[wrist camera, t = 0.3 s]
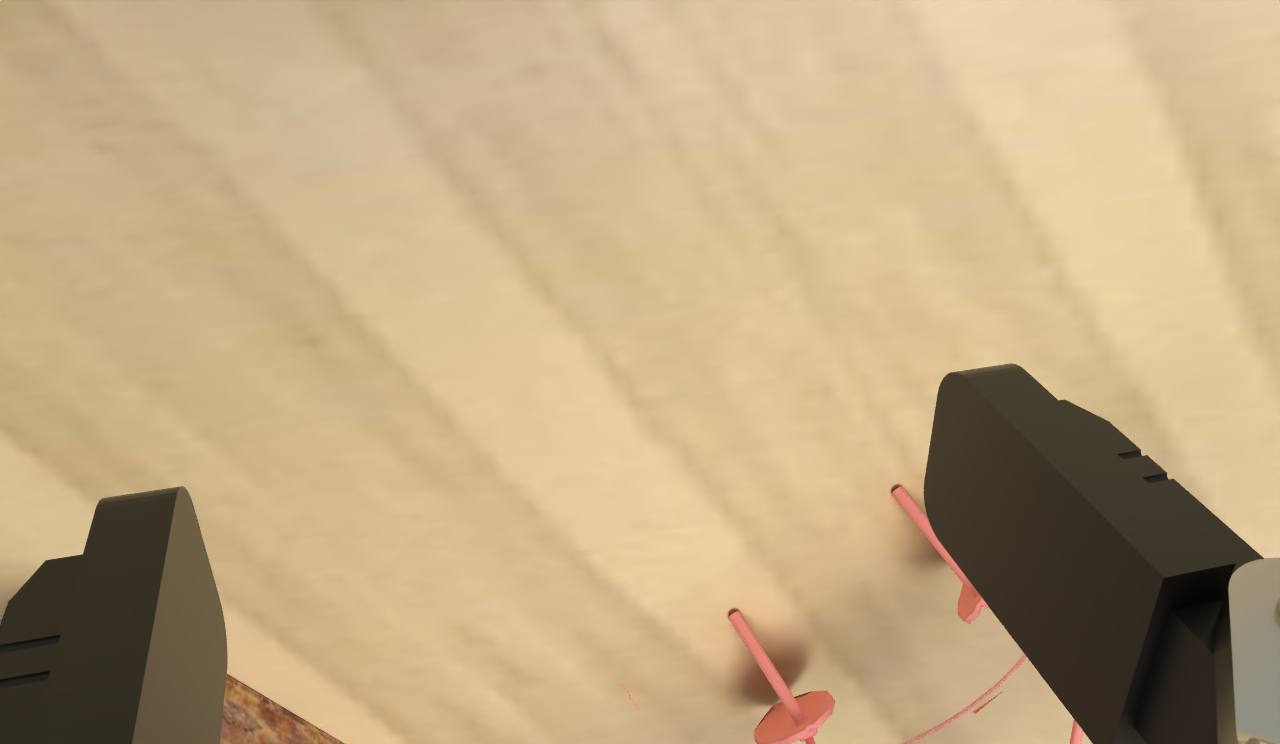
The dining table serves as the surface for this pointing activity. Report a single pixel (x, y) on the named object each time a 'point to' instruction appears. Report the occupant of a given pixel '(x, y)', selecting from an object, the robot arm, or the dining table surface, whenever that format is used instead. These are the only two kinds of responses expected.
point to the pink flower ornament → (813, 708)
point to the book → (263, 720)
